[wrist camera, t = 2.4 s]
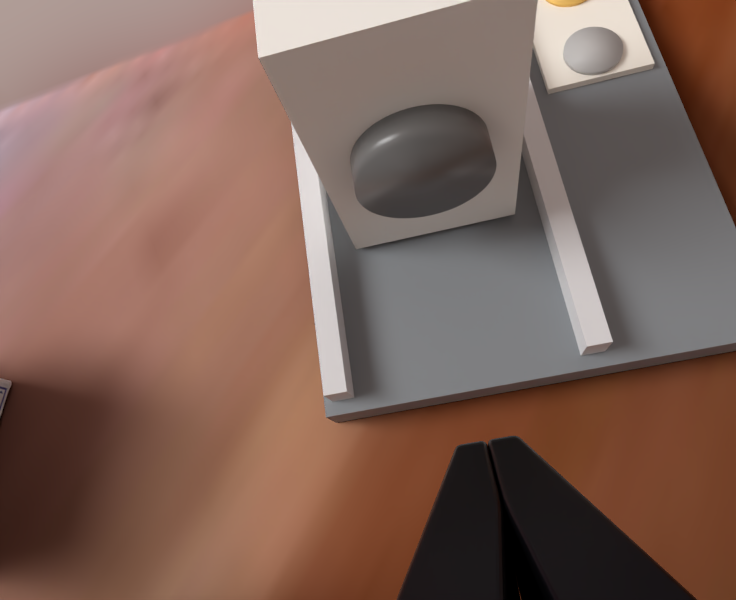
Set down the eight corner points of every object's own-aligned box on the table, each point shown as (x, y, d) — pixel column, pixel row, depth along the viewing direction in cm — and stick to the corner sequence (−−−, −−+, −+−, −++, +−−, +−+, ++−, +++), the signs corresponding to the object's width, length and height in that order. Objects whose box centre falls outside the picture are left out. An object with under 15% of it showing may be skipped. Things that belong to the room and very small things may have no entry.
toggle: (521, 238, 20) (552, 18, 11) (359, 273, 21) (262, 94, 12) (485, 104, 22) (485, -173, 13) (339, 140, 23) (243, -98, 14)
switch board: (760, 346, 19) (801, 323, 17) (336, 422, 21) (316, 412, 19) (604, -30, 26) (617, -88, 23) (290, 54, 28) (271, 10, 25)
